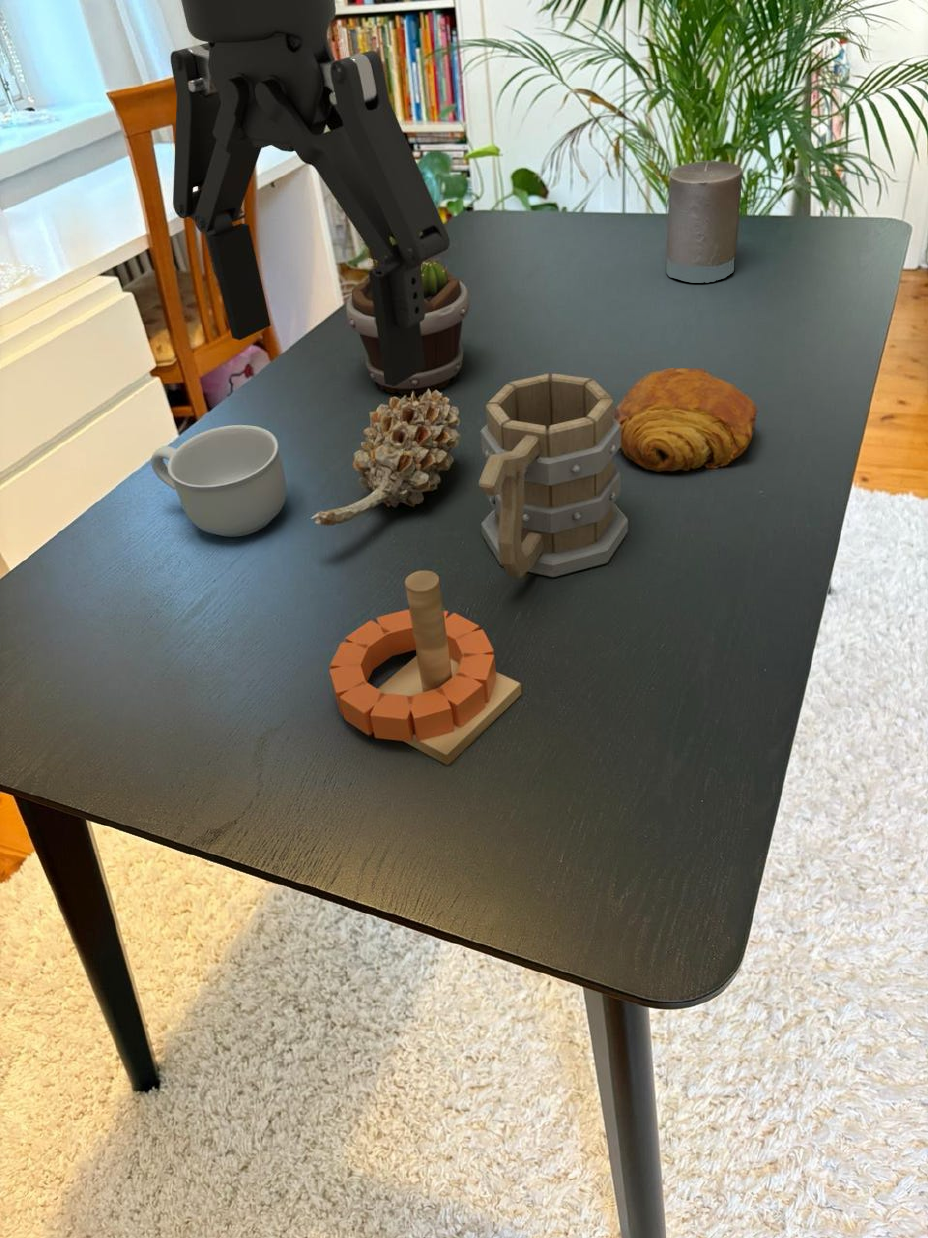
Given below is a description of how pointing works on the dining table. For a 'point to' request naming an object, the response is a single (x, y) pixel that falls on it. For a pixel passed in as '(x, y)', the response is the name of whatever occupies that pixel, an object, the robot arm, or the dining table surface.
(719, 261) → the pillar candle
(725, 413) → the croissant
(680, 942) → the dining table surface
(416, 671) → the rack
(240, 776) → the dining table surface
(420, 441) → the pine cone
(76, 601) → the dining table surface
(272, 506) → the teacup
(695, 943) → the dining table surface
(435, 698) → the ring
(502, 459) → the tankard
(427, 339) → the flowerpot
